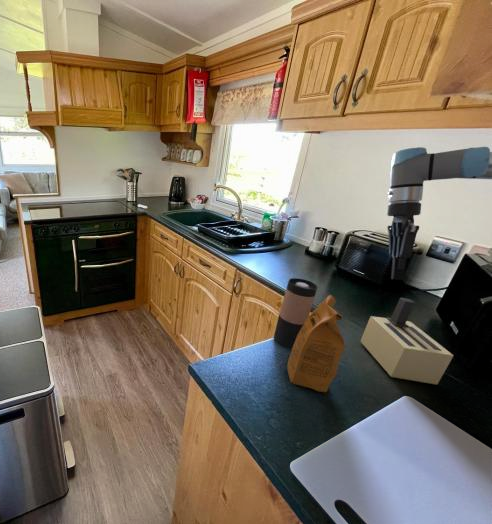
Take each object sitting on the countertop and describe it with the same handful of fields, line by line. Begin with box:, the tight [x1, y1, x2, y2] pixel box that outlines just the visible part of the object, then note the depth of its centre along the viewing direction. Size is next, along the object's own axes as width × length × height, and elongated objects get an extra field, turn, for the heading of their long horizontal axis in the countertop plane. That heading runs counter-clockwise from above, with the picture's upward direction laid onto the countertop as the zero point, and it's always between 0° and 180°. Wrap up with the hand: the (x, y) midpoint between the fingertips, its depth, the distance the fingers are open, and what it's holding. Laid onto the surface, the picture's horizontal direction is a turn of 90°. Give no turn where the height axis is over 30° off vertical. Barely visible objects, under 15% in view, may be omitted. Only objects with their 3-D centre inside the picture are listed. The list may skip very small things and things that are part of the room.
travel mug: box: [273, 277, 319, 349], centre depth 86 cm, size 8×8×20 cm
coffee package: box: [286, 294, 346, 393], centre depth 72 cm, size 10×12×22 cm
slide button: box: [386, 297, 416, 328], centre depth 83 cm, size 4×4×8 cm
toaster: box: [359, 315, 454, 385], centre depth 82 cm, size 16×11×10 cm
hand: (397, 279), depth 90 cm, fingers closed
